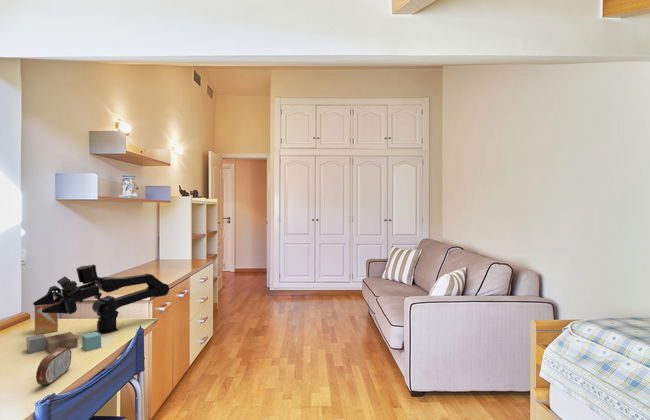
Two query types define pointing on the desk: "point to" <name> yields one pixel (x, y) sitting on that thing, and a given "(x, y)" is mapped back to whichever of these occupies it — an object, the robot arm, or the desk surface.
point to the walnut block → (61, 342)
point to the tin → (53, 366)
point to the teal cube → (91, 341)
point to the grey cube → (36, 343)
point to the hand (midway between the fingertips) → (37, 307)
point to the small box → (45, 320)
